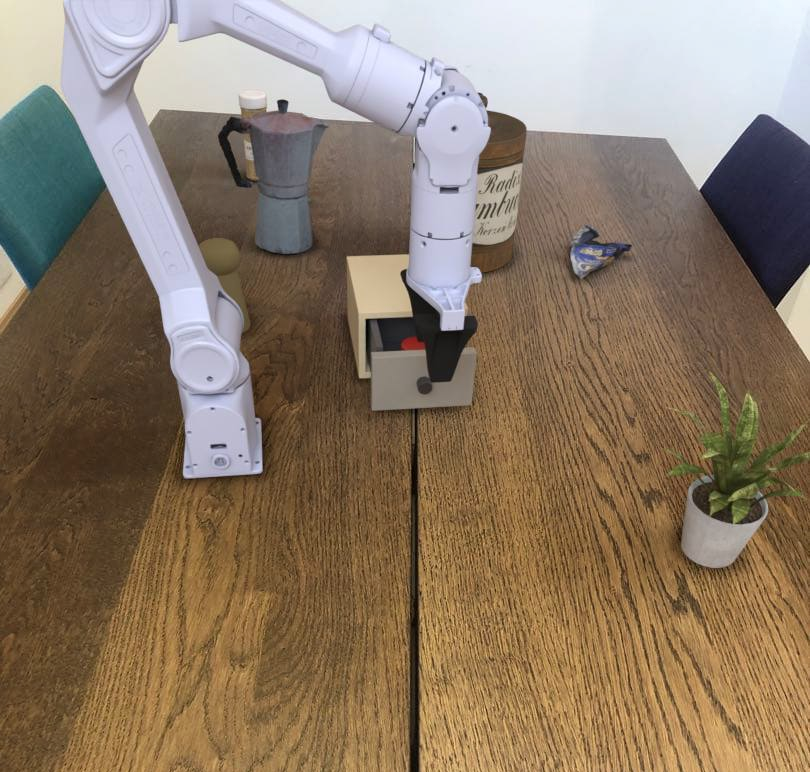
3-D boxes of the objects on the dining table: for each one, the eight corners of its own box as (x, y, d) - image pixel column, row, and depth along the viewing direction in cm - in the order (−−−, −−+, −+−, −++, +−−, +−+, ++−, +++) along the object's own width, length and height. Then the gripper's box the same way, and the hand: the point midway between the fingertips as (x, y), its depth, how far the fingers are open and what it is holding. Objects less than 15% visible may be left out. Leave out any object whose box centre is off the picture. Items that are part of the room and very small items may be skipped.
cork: (241, 339, 103) (231, 255, 96) (196, 333, 104) (182, 249, 97) (257, 316, 108) (248, 235, 100) (213, 311, 108) (202, 229, 101)
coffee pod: (435, 383, 94) (437, 353, 91) (402, 385, 93) (403, 354, 91) (430, 366, 96) (431, 335, 94) (398, 367, 96) (399, 337, 93)
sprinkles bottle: (251, 183, 141) (243, 98, 132) (242, 174, 144) (234, 90, 135) (276, 179, 143) (270, 95, 134) (267, 170, 146) (260, 87, 137)
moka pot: (340, 250, 123) (337, 106, 109) (239, 264, 119) (223, 115, 105) (321, 225, 129) (316, 86, 116) (225, 238, 125) (207, 94, 111)
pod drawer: (473, 411, 92) (479, 358, 87) (373, 417, 90) (373, 363, 86) (449, 344, 102) (453, 293, 98) (359, 348, 101) (358, 297, 96)
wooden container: (459, 284, 116) (473, 117, 101) (394, 247, 124) (398, 88, 109) (532, 257, 123) (555, 98, 108) (466, 225, 132) (478, 72, 116)
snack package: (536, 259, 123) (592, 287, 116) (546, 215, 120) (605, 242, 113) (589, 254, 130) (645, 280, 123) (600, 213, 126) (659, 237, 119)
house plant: (595, 510, 82) (631, 368, 70) (710, 482, 85) (762, 343, 74) (677, 611, 72) (734, 466, 61) (803, 575, 76) (879, 431, 65)
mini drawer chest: (462, 373, 99) (468, 308, 93) (359, 378, 98) (358, 312, 92) (441, 314, 110) (445, 252, 104) (347, 318, 108) (346, 256, 102)
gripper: (504, 260, 69) (488, 397, 78) (468, 194, 79) (458, 322, 88) (421, 263, 68) (415, 401, 77) (396, 196, 78) (393, 325, 87)
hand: (433, 359), depth 83 cm, fingers open, 7 cm apart
